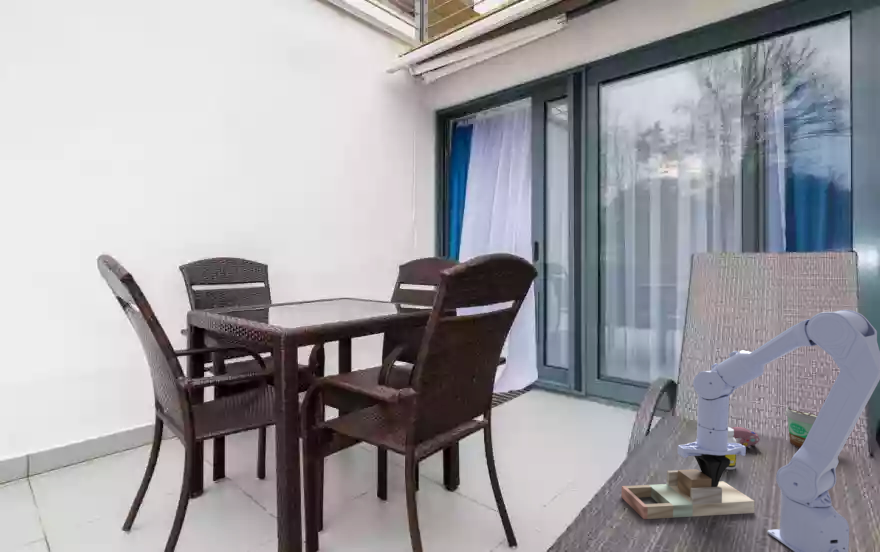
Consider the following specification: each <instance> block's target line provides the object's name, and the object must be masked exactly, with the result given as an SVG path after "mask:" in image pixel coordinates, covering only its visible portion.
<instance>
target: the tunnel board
mask: <svg viewBox="0 0 880 552" xmlns="http://www.w3.org/2000/svg"><path fill="white" fill-rule="evenodd" d="M678 470H679V469H678ZM678 470H677V469H675V470H667V471H666V483H661V484H660V483H659V484H637V485H635V484H634V485H622V486H621V496H620V497H621V499H623V501H625V502H626V504H627V505H629V506H630V508H631V509H632V510H633V511H635V512H636V513H637V514H638V515H639V516H640V517H641V518H642V519H643V520H652V519H653V520H654V519H655V520H656V519H669V518H670V519H672V518H686V517H687V518H688V517H705V516H707V517H708V516H709V517H710V516H721V515H722V516H723V515H741V514H755V502H756V501H755V500H754V499H752V498H751V497H749V496H748V495H746V494H744V493H743V492H741V491H739V490H738V489H736V488H735V487H733V486H732V485H730V484H728V483H727V482H726V481H722V480H721V481H719V484H718V486H717V487H702V488H691V491H690V497H689V496H687V495H686V494H685V493H684V492H682V491H681V490H680V489H678Z"/></svg>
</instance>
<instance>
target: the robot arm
mask: <svg viewBox="0 0 880 552" xmlns="http://www.w3.org/2000/svg"><path fill="white" fill-rule="evenodd" d="M814 346H818V347H819V348H821V350H823V352H825V353H826V354H828V355H829V356H830V357H831V358H832V361H833V362H834V363H835V364H836V366H837V367H838V368H839V373H838V375H837V377H836V379H835V381H834V383H833V384H832V386H831V388H830V390H829V392H828V395H827V396H826V398H825V400H824V402H823V404H822V406H821V408H820V410H819V412H818V415H817V418H816V420H815V422H814V424H813V426H812V428H811V429H810V431H809V433H808V435H807V437H806V439H805V441H804V443H803V445H802V446H801V448H799V449H798V450H796V452H795V453H794V455H793V456H792V457H791V459H790V461H789V463H787V464H785V465H783V466H781V467H780V468H778V470H777V472H776V475H775V480H776V483H777V486H778V488H779V489H780V509H779V510H780V511H779V515H780V516H779V528H777V529H768V530H767V534H769V535H770V536H771V537H773V538H774V539H776V540H777V541H779V542H780V543H782V544H783V545H784V546H786V547H787V548H789V550H792V552H849V551H850V550H849V546H850V543H849V542H850V525H849V522H848V520H847V519H846V518H845V517H844V516H843V515H841V514H840V512H837V510H836V509H835V508H834V506H833V504H832V497H831V496H830V493H829V490H831V489H832V488H834V487H835V485H836V484H837V474H836V471H837V466H838V464H839V462H840V461H839V456H840V454H841V453H842V450H843V448H844V447H845V444H846V443H847V440H849V437H850V435H851V433H852V432H853V430H854V428H855V426H856V424H857V422H858V421H859V419H860V417H861V415H862V413H863V412H864V409H865V408H866V406H867V404H868V402H869V401H870V399H871V397H872V395H873V393H874V391H875V390H876V387H877V386H878V384H879V383H880V347H879V344H878V330H876V328H875V326H873V325H872V324H871V322H870V321H869V320H868V319H867V318H866V316H864V315H863V314H862V313H860V312H857V311H856V310H855V311H854V310H851V309H840V310H836V311H822V312H819V313H816V314H814V315H813V316H812V317H810V318H808V319H805V320H804V319H803V320H801V321H800V322H798V323H796V324H794V325H792V326H790V327H788V328H787V329H786V330H784V331H783V332H781V333H779V334H778V335H776V336H774V337H773V338H772V339H770V340H768V341H767V342H766V343H764V344H762V345H760V346H759V347H758V348H756V349H754V350H753V351H748V350H743V349H742V350H739V351H738V350H733V351H731V352H730V353H728V355H729V357H728V358H726V359H724V360H723V361H721V362H719V363H713V364H712V365H710V370H702V371H699V372H698V374H696V375H695V376H694V378H693V382H692V385H693V389H694V391H695V392H696V394H697V417H696V418H697V419H696V420H697V421H696V425H697V426H696V439H695V441H694V442H688V443H685V444H678V445H677V455H679V456H680V457H681V458H685V459H686V458H688V457H694V458H695V461H696V462H697V464H698V467H699V469H700V472H702V473H703V474H705V475H706V476H708V477H709V478H711V479H712V481H711V487H717V486H718V484H719V481H720V480H721V479H722V475H723V474H724V472H725V471H726V470H727V469H726V468H727V467H728V466H729V465H730V459H728V458H727V457H726V455H732V454H736V455H739V456H746V455H747V454H746V452H747V451H746V450H747V447H745V446H743V445H741V444H740V442H739V443H738V442H737V443H728V427H729V415H730V414H729V410H730V409H729V408H730V407H729V406H730V404H729V403H730V401H729V400H730V395H732V394H733V393H734V391H735V390H737V389H739V388H741V387H742V386H744V385H746V384H748V383H750V382H752V381H754V380H755V379H757V378H760V377H761V376H763V374H764V371H765V366H766V365H767V364H770V363H772V362H773V361H775V360H777V359H780V358H782V357H784V356H785V355H787V354H789V353H792V352H793V351H795V350H797V349H799V348H801V347H814Z"/></svg>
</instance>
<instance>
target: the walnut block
mask: <svg viewBox="0 0 880 552" xmlns="http://www.w3.org/2000/svg"><path fill="white" fill-rule="evenodd" d="M711 481H712V479H711V478H709V477H708V476H706V475H705V474H703V473H702V472H701V470H699V469H698V468H697V469H695V468H692V469H678V489H680V490H681V491H682V492H684V493H685V494H686V495H687V496H689V497H690V491H691V488H702V487H711Z"/></svg>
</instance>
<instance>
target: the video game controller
mask: <svg viewBox="0 0 880 552" xmlns="http://www.w3.org/2000/svg"><path fill="white" fill-rule="evenodd" d="M730 428H732V429H734V436H733V437H734V438H735V439H736V441H737V439H740V440H739V444H741V445H743V446H745V447H746V448H748V447H749V446H755V445H756V444H758V443H759V442H760V436H759V435H758V433H757V432H755V431H754V429H747V428H745V427H742V426H733V427H730ZM737 442H738V441H737Z"/></svg>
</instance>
